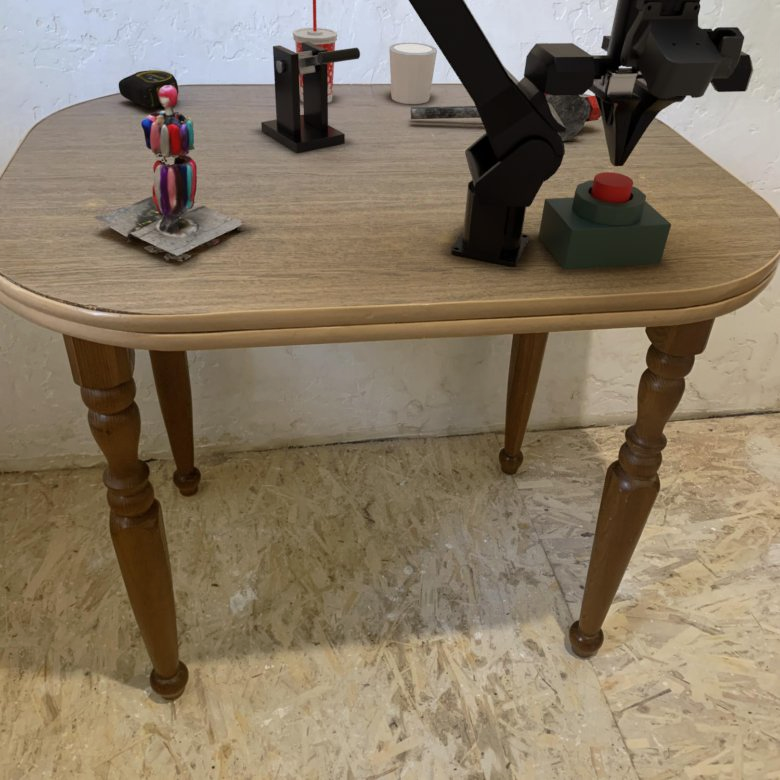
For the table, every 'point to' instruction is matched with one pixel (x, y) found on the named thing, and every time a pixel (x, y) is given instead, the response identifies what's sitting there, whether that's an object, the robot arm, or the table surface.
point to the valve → (566, 106)
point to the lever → (324, 58)
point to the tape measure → (146, 87)
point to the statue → (171, 191)
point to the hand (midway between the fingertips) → (616, 164)
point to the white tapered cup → (411, 72)
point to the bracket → (289, 123)
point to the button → (612, 187)
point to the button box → (602, 230)
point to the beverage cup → (319, 38)
